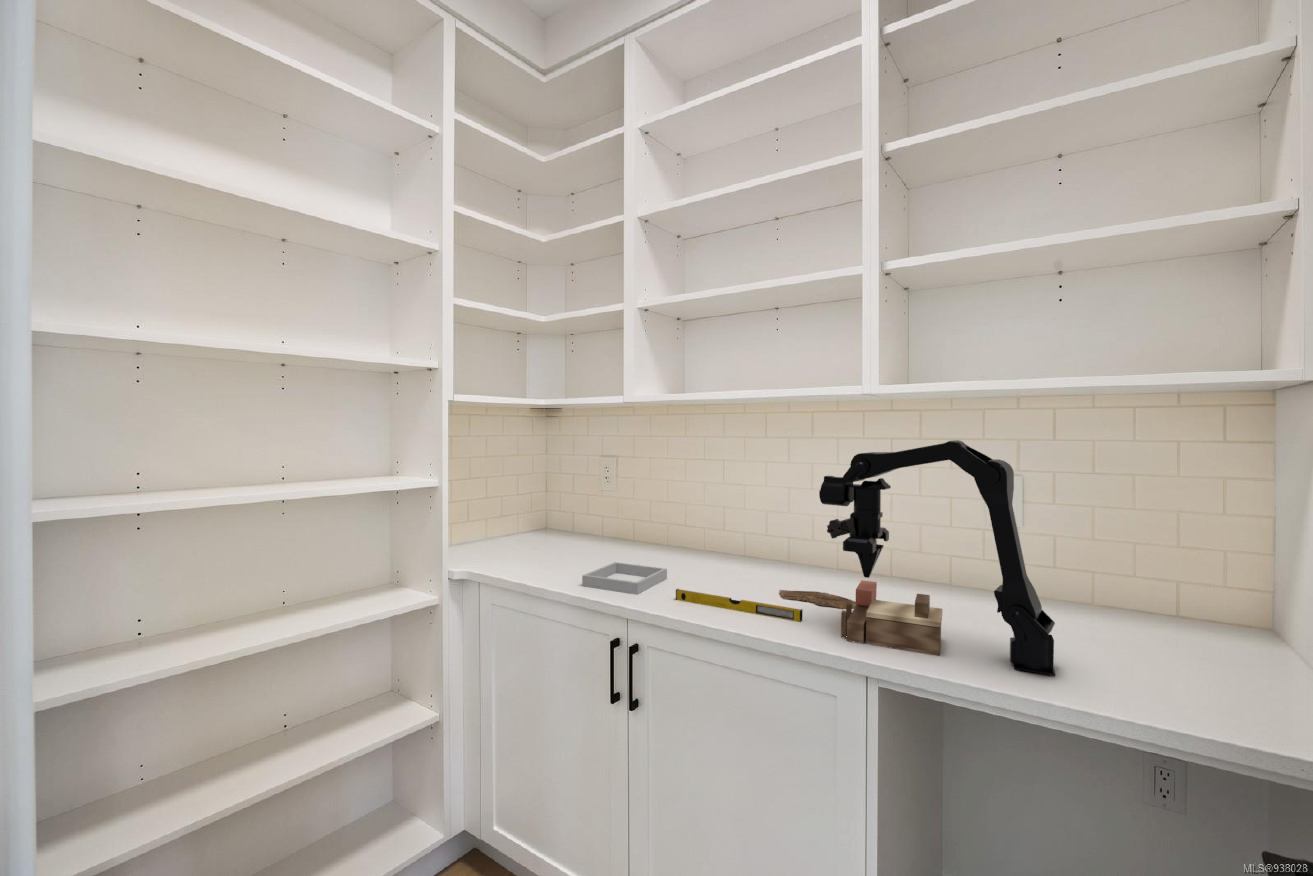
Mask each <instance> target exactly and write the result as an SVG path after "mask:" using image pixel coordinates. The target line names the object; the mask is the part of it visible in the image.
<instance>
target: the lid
mask: <svg viewBox="0 0 1313 876" xmlns="http://www.w3.org/2000/svg"><path fill="white" fill-rule="evenodd" d="M930 598H931V597H930V594H924V593H916V596H915V601H914V604H910V603H902V602H897V601H896V602H895V601H886V600H878V599H876V600H872V602H871V604H870V606H869V608H868V610H867V612H866V617H871V618H878V619H885V620H891V621H898V622H905V623H912V624H919V625H926V626H933V627H940V628H941V629H942V620H943V608H941V607H939V608H938V607H933V606H930V604H931V603H930V600H931V599H930Z"/></svg>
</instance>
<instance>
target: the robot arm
mask: <svg viewBox="0 0 1313 876" xmlns="http://www.w3.org/2000/svg"><path fill="white" fill-rule="evenodd" d="M944 461H950V462H953V463H954V464H955V465H956V466H957V467H959V468H960V469H961V470H962V471H964V472H965V473H966V474H968V475H970V476H972V477H973V478H974V482H975V484H976V487H977V489H978V491H979V494H980V496H981V497H982V500H983V501H984V503H985V504H986V506H987V508H988V513H989V517H990V523H991V528H992V533H993V537H994V542H995V548H996V553H997V557H998V561H999V567H1000V572H1001V577H1002V583H1001V584H1000V585H999V586H997V588H995V589H994V591H993V594H994V597H995V600H996V603H997V608H996V609H997V610H996V612H997V614H998V613H1001V617H1002V619H1003V620H1004V622H1005V623H1006V624H1008V625H1009V626H1010V628H1011V630H1012V632H1013V637H1012V636H1011V637H1009V659H1010V660H1009V661H1010V663H1012V666H1013V668H1014V670H1017V671H1022V672H1029V673H1034V674H1041V675H1045V676H1046V675H1047V676H1053V677H1055V676H1056V671H1055V668H1054V661H1055V660H1054V659H1055V657H1054V655H1055V654H1054V653H1055V652H1054V651H1055V649H1054V648H1055V639H1054V637H1053V635H1052V634H1050V633H1052V631H1053V628H1054V626H1055V625H1056V623H1055V621H1054V619H1052V618H1051V617H1050V616H1049V615H1048V614H1047V613H1046V612H1045V611H1044V609H1042V604H1041V601H1040V598H1039V596H1038V594H1037V591H1036V589H1035V587H1034V585H1033V583H1032V582H1031V580H1030V579H1029V577H1028V575H1027V570H1026V565H1025V560H1024V554H1023V551H1022V544H1021V541H1020V535H1019V532H1018V526H1017V521H1016V517H1015V512H1014V507H1013V499H1014V490H1015V484H1014V483H1015V480H1014V477H1015V474H1014V473H1015V471H1014V469H1013V467H1012V466H1011V464H1009V463H1008V462H1006V461H1005V460H1002V459H998V458H997V459H993V458H991V457H989V455H986V454H984V453H983V452H981V451H978V450H976V449H975V448H972V447H971V446H969V445H967V444H966V443H965V442H964V441H962V440H948V441H946V442H944V443H943V442H942V443H938V444H932V445H927V446H922V447H916V448H910V449H905V450H904V449H903V450H900V451H892V452H891V451H888V452H887V451H877V452H875V451H873V452H871V451H870V452H861V453H857V454H855V455H854V456H853V457H852V458H851V461H850V467H849V468H848V469H847V471H845V474H844V475H843V476H842V477H841V476H835V475H834V476H833V475H824V477H823V482H822V483H821V485H820V489H819V490H818V491H819V492H818V493H819V501H820V502H821V504H822V505H828V506H829V505H830V506H839V507H848V506H849V505H850V504H851V503H853V512H851V513H850V514H849V518H845V519H841V520H840V519H838V518H835V519H832V520H829V524H828V525H826V527H827V529H826V532H827V534H830V537H831V539H836V538H837V537H840V536H843V535H849V536H848V537H847V538H846V539H844V540H843V541H842V551H844V552H850V553H855V554H856V555H857V557H858V560H859V564H860V568H861V570H862V574H863V578H867V579H869V578H870V576H871V575H872V572H873V570H874V568H875V566H876V563H877V561H878V559H879V557H880V555H881V552H882V550H883V548H884V545H883V544H878V540H883V542H888V541H889V540H890V531H889V530H888V529H887V528H886V527H882V526H881V519H882V518H883V514H884V513H883V512H882V511H881V509H882V508H881V505H882V504H881V502H882V501H881V500H882V497H881V495H882V494H881V493H882V492H881V491H885V490H889V489H891V485H890V484H889V483H888V482H887V481H886V480H885V479H884V477H880V478H878V479H877V480H868V479H871V478H877V477H879V476H882V475H885V474H888V473H890V472H893V471H896V470H898V469H903V468H908V467H915V466H919V465H920V466H921V465H926V464H932V463H939V462H944ZM866 479H867V480H866ZM860 481H861V482H862V483H861V484H857V483H855V484H854V482H860Z"/></svg>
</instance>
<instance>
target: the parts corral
mask: <svg viewBox="0 0 1313 876" xmlns="http://www.w3.org/2000/svg"><path fill="white" fill-rule="evenodd" d="M614 574H623V575H631V576H638V577H642V579H639V580H638V581H632V580H624V579H618V578H611V577H610V576H612V575H614ZM643 577H644V578H643ZM581 580H582V581H581V582H582V583H581V585H582V587H588V588H594V589H598V590H600V589H601V590H607V591H613V592H619V593H620V592H621V593H626V594H633V595H639V594H641V593H643V592H645V591H647V590H648V589H650V588H652V587H654V586H656V585H658V584H660V583H662V582H664V581H665V580H668V568H664V567H656V566H648V565H640V564H634V563H626V562H625V563H624V562H616V561H615V562H612V563H610V564H608V565H604V566H602V567H600V568H597V569H595V570H592V571H590V572H587V573H585V574H582V575H581Z"/></svg>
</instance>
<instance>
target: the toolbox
mask: <svg viewBox="0 0 1313 876" xmlns="http://www.w3.org/2000/svg"><path fill="white" fill-rule="evenodd" d="M875 600H877V597H876V598H875ZM868 608H869V606H863V605H856V606H855V608H854V609H852V604H851V603H847V604H846V609H845V610H842V611H841V614H840V616H841V617H840V618H841V619H840V621H841V622H840V623H841V624H840V626H841V628H840V632H841V633H840V638H841V637H845V638H844V639H846V641H847V642H850V641H855V642H854V643H856V642H861V643H860V644H862V643H863V644H864V643H865V644H866V643H868V644H867V645H871V644H872V646H877V645H878V647H883V646H886V647H885V648H889V647H892V648H891V649H896V648H897V650H903V651H908V650H911V651H910V652H914V651H915V653H920V654H926V655H932V656H941V655H940V654H941V641H942V627H941V628H940V627H933V626H926V625H919V624H912V623H905V622H898V621H891V620H885V619H878V618H871V617H866V612H867V610H868ZM846 636H847V637H846ZM865 638H866V639H865Z"/></svg>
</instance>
